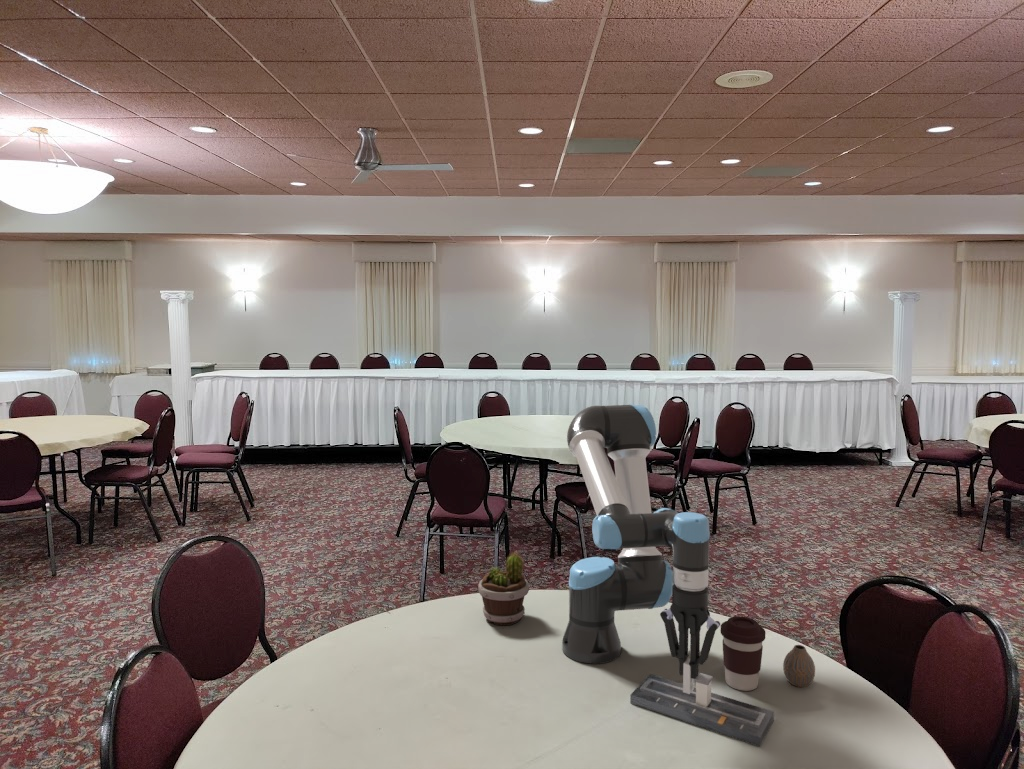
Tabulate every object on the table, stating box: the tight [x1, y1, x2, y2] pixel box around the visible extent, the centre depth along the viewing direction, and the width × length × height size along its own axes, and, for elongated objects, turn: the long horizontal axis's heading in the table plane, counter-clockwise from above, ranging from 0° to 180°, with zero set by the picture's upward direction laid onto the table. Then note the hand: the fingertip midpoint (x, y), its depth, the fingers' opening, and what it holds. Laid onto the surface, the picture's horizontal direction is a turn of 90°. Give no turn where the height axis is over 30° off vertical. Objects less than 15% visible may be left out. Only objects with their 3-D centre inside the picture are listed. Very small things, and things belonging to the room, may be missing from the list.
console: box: [629, 673, 775, 747], centre depth 147 cm, size 28×11×3 cm, turn 55°
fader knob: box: [694, 672, 714, 707], centre depth 146 cm, size 3×3×6 cm
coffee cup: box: [720, 615, 766, 692], centre depth 158 cm, size 10×10×15 cm
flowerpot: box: [477, 549, 531, 626], centre depth 194 cm, size 14×15×20 cm
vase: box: [782, 644, 816, 688], centre depth 159 cm, size 7×7×9 cm
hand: (688, 690), depth 148 cm, fingers closed
